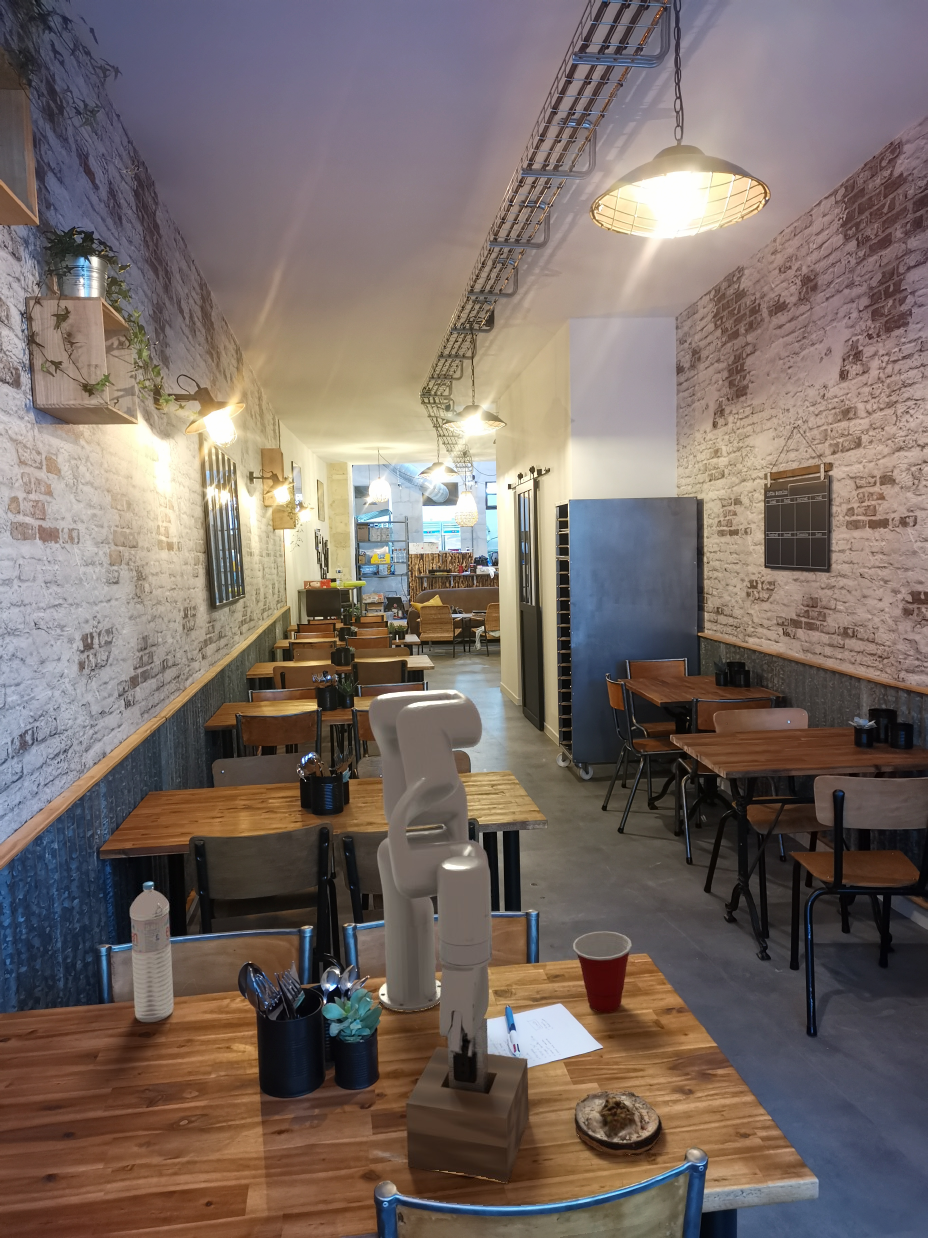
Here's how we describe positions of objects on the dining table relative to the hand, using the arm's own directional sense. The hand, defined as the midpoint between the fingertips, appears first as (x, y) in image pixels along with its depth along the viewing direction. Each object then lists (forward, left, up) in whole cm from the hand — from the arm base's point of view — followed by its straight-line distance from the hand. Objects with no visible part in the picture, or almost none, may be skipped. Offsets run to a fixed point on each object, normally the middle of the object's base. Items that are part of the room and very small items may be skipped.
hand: (468, 1072), depth 119 cm
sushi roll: (-8, +20, -11) cm, 24 cm away
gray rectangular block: (0, 0, -3) cm, 3 cm away
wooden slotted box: (0, 0, -10) cm, 10 cm away
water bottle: (-20, -67, -10) cm, 71 cm away
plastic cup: (-42, +14, -10) cm, 45 cm away
